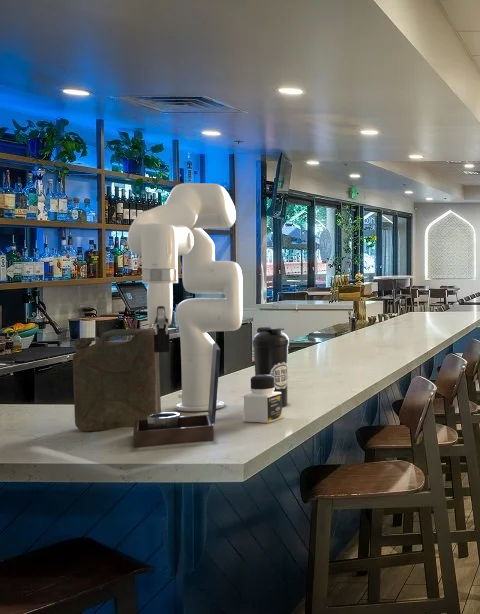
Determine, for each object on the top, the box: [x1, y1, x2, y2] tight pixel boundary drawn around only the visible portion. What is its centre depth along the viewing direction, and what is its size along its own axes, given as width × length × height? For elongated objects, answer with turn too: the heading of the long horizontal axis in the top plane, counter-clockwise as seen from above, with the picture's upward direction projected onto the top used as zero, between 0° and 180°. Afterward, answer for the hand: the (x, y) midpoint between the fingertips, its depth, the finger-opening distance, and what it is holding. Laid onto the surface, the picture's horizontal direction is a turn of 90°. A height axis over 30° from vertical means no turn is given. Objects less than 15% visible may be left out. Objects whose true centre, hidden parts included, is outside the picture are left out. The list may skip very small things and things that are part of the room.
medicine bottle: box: [243, 375, 283, 424], centre depth 211 cm, size 7×7×12 cm
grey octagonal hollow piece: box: [148, 411, 181, 430], centre depth 186 cm, size 7×7×6 cm
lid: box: [207, 342, 221, 425], centre depth 190 cm, size 17×15×1 cm
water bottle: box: [251, 326, 290, 408], centre depth 230 cm, size 10×10×23 cm
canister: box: [72, 327, 162, 433], centre depth 200 cm, size 19×8×25 cm, turn 106°
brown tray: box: [132, 414, 214, 449], centre depth 187 cm, size 17×15×4 cm
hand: (162, 350), depth 185 cm, fingers open, 9 cm apart
